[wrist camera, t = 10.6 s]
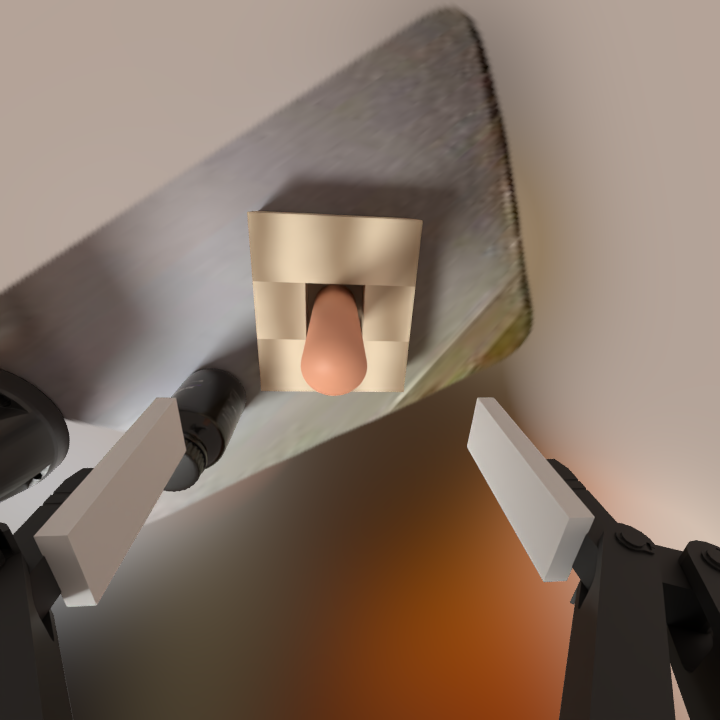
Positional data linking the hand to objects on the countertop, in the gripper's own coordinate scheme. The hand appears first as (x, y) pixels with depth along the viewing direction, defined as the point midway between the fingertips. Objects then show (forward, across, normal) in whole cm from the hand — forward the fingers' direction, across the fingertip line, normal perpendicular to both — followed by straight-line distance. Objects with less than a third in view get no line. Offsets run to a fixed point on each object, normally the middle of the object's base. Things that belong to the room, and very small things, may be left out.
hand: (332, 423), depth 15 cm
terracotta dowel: (+20, 0, 0) cm, 20 cm away
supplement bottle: (+22, -13, -11) cm, 28 cm away
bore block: (+22, 0, 0) cm, 22 cm away
